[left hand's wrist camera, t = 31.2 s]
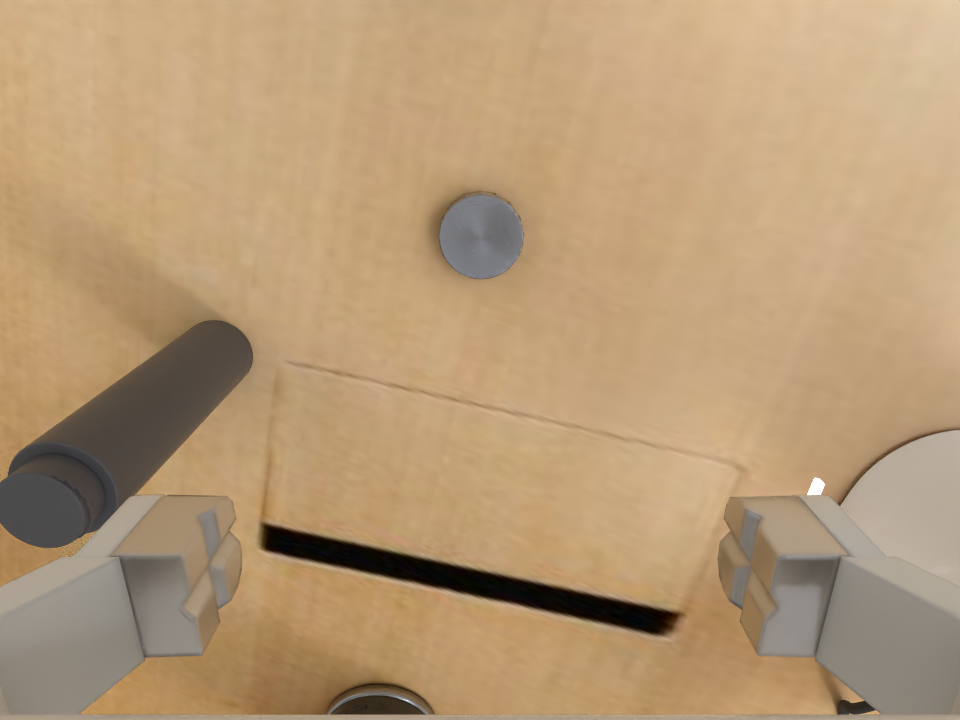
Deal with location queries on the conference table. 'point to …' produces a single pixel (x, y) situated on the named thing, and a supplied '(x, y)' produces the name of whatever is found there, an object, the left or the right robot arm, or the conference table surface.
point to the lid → (481, 235)
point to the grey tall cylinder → (120, 437)
